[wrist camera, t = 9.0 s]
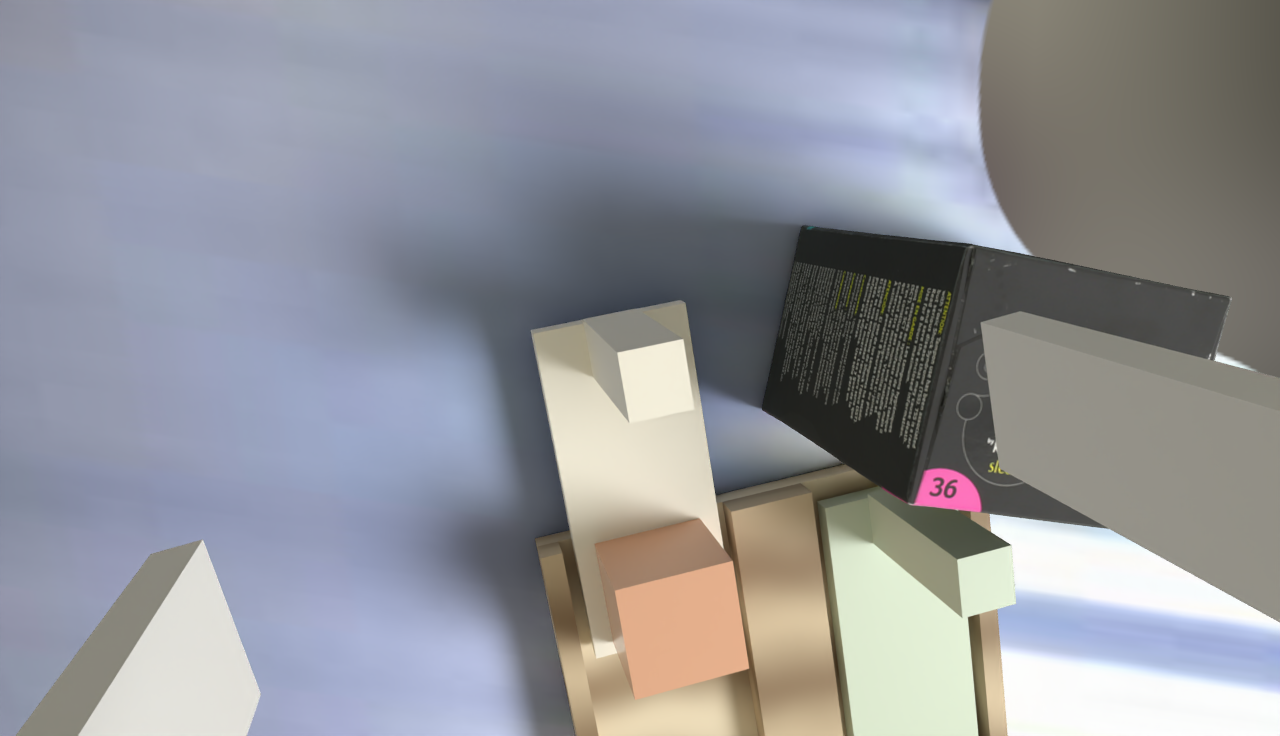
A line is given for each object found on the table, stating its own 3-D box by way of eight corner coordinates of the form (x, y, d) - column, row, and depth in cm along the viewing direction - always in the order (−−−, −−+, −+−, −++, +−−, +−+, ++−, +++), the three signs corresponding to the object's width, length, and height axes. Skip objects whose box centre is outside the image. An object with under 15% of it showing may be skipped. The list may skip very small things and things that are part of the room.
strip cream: (529, 325, 41) (555, 365, 32) (679, 295, 42) (742, 326, 33) (592, 648, 44) (631, 762, 36) (728, 612, 45) (797, 714, 37)
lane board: (534, 538, 44) (543, 568, 41) (957, 437, 48) (997, 456, 44) (600, 857, 48) (613, 909, 45) (984, 742, 52) (1022, 780, 48)
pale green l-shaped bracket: (816, 497, 45) (906, 573, 37) (943, 466, 46) (1060, 532, 38) (852, 776, 49) (941, 905, 40) (969, 741, 50) (1080, 858, 41)
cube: (594, 543, 42) (614, 590, 37) (699, 518, 43) (732, 560, 38) (612, 642, 43) (635, 700, 38) (715, 615, 44) (749, 668, 39)
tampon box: (756, 410, 45) (900, 515, 31) (795, 219, 44) (965, 240, 30) (956, 437, 48) (1172, 545, 34) (999, 258, 46) (1244, 293, 32)
